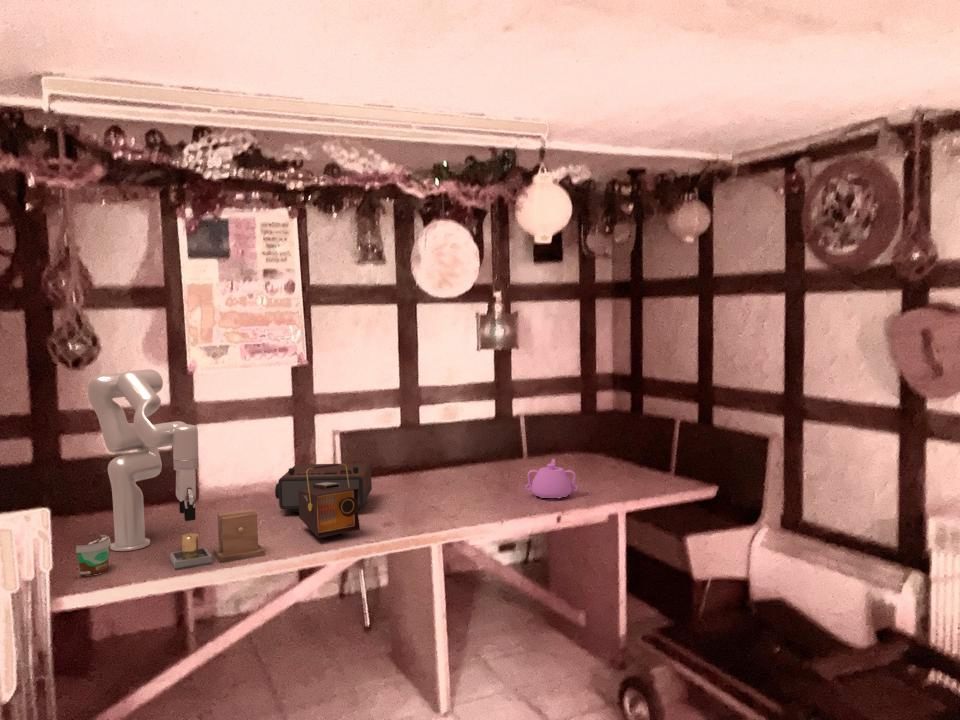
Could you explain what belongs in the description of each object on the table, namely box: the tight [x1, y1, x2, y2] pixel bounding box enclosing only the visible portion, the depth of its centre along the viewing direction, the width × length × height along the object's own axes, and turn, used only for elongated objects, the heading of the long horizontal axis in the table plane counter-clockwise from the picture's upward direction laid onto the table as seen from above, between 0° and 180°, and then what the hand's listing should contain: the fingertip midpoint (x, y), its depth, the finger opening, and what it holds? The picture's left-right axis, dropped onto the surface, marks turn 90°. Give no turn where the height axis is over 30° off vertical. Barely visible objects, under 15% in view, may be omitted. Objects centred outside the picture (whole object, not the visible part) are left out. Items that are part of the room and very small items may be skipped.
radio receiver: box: [274, 462, 373, 513], centre depth 314 cm, size 35×27×18 cm
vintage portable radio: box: [298, 463, 361, 539], centre depth 276 cm, size 16×23×25 cm
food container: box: [75, 534, 112, 577], centre depth 241 cm, size 12×6×10 cm, turn 170°
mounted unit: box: [212, 508, 266, 564], centre depth 255 cm, size 12×14×14 cm
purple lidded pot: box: [525, 458, 579, 498], centre depth 326 cm, size 22×22×14 cm
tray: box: [169, 547, 213, 571], centre depth 248 cm, size 11×11×2 cm
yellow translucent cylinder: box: [181, 532, 200, 560], centre depth 248 cm, size 5×5×8 cm
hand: (187, 516), depth 248 cm, fingers open, 9 cm apart
